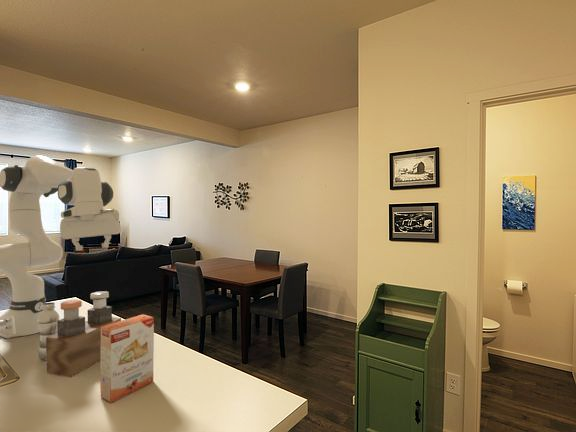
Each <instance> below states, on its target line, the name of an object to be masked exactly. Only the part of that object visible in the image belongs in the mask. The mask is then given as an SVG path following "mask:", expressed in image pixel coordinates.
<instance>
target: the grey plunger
mask: <svg viewBox="0 0 576 432" xmlns="http://www.w3.org/2000/svg"><path fill="white" fill-rule="evenodd" d="M109 297H110V293H109V291H107V290H105V291H102V290H101V291H95V292H91V293H90V300H92V303H93V304H92V308H93V309H94V310H101V309H104V308H106V306H107V299H108V298H109Z"/></svg>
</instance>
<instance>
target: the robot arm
mask: <svg viewBox="0 0 576 432" xmlns="http://www.w3.org/2000/svg"><path fill="white" fill-rule="evenodd" d="M0 188H1V189H2V190H4V191H7V192H11V193H10V196H9V197H10V198H9V203H8V204H9V205H8V212H9V213H8V214H9V227H10V230H11V231H12V232H13V233H14V234H17V235H19V236H21V237H25V238H26V239H27V241H28V242H18V243H17V242H16V243H6V244H1V245H0V272H1V273H3V274H4V275H5V276H6V278H7V279H8V280H9V282H10V284H11V291H12V293H11V294H12V300H10V301H8V305H9V309H8V310H6V311H5V312H4V313H2V315H0V337H2V338H4V339H10V338H16V337H23V336H24V337H26V336H31V335H34V334H38V333H40V332H39V326H38V317H39V315H40V314H41V313H42V311H43V310H42V304H44V303H47V302H46V301H47V298H46V295H45V280H44V278H42V277H41V276H39V275H37V274H32V273H29V272H28V271H27V270H28V268H37V267H46V266H50V265H54V264H57V263H59V262H60V261H61V260H62V258H63V256H64V250H63V247H62V245H61V244H59V242H56V241H54V240H53V239H52V238H51V237H50V236H49V235H48V234H47V233H46V232H45V230H44V227H43V221H42V214H41V213H42V211H41V204H40V198H41V197H42V196H44V198H48V197H50V195H53V194H56V193H57V198H58V199H59V200H60V201H61V202H62V204H64V205H66V206H73V207H70V208H68V209H66V210H63V211H61V212H60V218H61V220H60V224H59V234H60V237H61V239H62V240H70V239H71V242H72V244H73V245H74V246H75V251H77V252H79V251H83V250H84V248H83V247H84V245H83V244H82V245H81V244H80V243H79V241H80V238H82V239H84V238H91V237H101V236H102V237H103V238H104V239H105V240H104V242H101V248H102V249H107V248H109V243H110V241H111V239H112V235H119V234H120V233H121V231H122V228H121V222H120V220H119V219H120V214H119V211H118V210H117V209H114V208H110V209H104V207H106V206H108V205H109V204H110V203H111V202H112V200H113V198H114V190H113V188H112V186H111V185H110V183H109V182H107V181H102V180H101V175H100V172H99V170H98V169H96V168H94V167H86V166H85V167H83V166H77V167H74V168H73V169H71V168H69V167H67V166H66V165H63V164H61V163H59V162H58V161H56V160H54V159H53V158H51V157H48V156H46V155H32V156H31V157H29V158H28V159H27V161H26V162H25V166H20V165H19V164H15V165H13V166H6V167H4V168H2V169H1V170H0Z"/></svg>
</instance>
